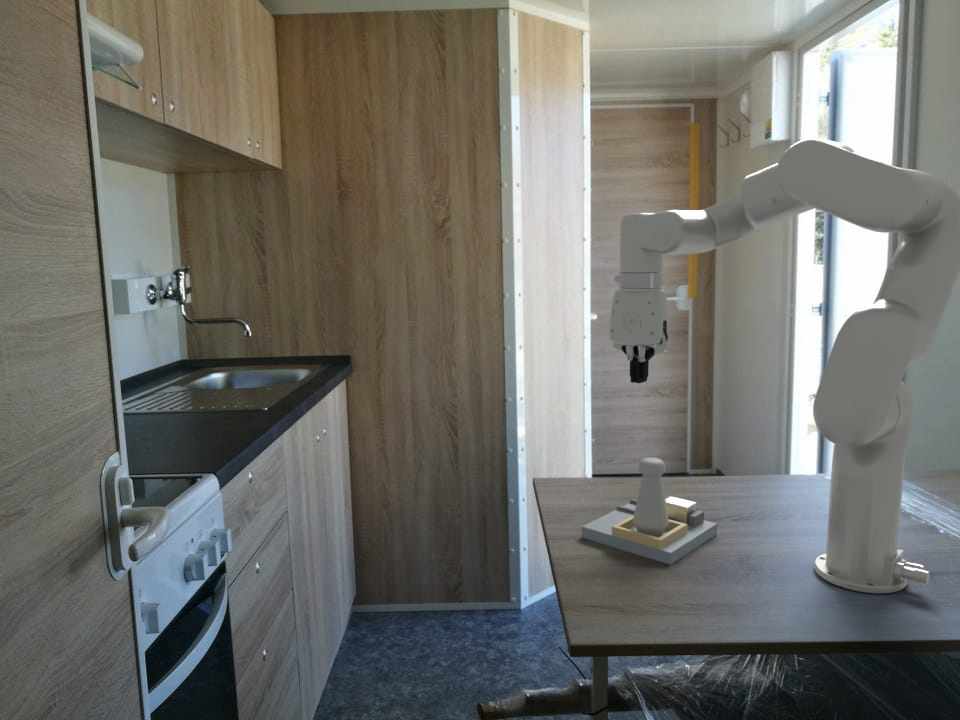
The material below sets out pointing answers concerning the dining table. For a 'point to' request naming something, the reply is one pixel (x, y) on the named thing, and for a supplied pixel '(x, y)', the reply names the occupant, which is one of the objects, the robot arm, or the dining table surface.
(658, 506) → the salt shaker
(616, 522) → the base
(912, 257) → the robot arm
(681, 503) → the cover
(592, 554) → the dining table surface
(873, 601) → the dining table surface
